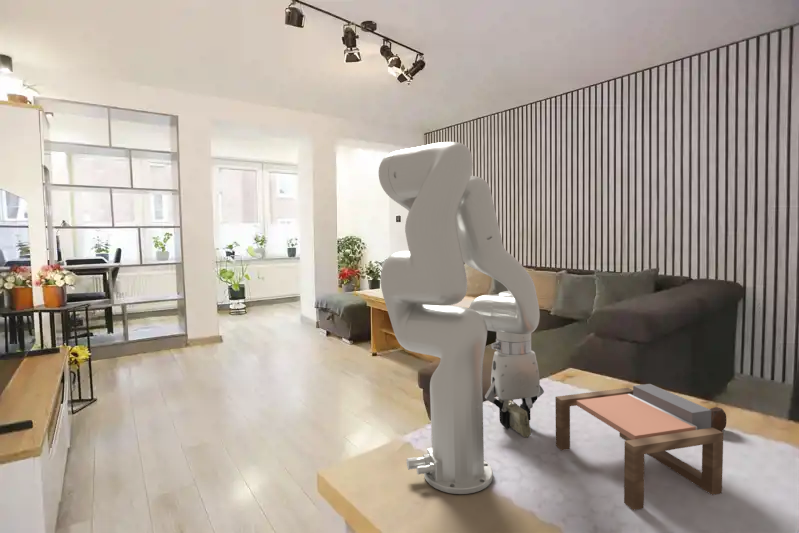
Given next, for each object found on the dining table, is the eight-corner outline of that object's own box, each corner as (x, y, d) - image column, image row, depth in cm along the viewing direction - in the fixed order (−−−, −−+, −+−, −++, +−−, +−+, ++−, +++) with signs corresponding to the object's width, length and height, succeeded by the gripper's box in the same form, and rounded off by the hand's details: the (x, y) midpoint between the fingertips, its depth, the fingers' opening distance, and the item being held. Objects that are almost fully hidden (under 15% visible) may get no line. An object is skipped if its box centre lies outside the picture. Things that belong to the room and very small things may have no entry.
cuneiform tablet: (513, 414, 108) (541, 435, 96) (496, 420, 107) (523, 442, 95) (507, 386, 107) (535, 404, 96) (491, 392, 106) (517, 411, 95)
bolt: (655, 415, 109) (722, 438, 95) (643, 409, 107) (709, 431, 93) (663, 393, 110) (729, 412, 96) (651, 386, 108) (717, 405, 94)
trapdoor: (634, 453, 73) (635, 424, 73) (576, 414, 89) (576, 390, 88) (715, 440, 77) (716, 412, 76) (646, 405, 92) (646, 382, 92)
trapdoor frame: (633, 510, 70) (633, 446, 69) (555, 445, 92) (555, 396, 91) (721, 493, 74) (723, 432, 73) (627, 435, 95) (627, 387, 95)
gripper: (485, 354, 94) (487, 437, 95) (556, 347, 97) (557, 427, 99) (472, 345, 101) (474, 422, 103) (539, 339, 105) (539, 413, 106)
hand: (515, 424), depth 101 cm, fingers closed on cuneiform tablet, 4 cm apart
